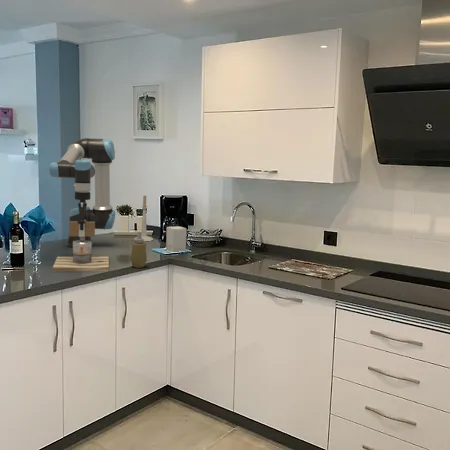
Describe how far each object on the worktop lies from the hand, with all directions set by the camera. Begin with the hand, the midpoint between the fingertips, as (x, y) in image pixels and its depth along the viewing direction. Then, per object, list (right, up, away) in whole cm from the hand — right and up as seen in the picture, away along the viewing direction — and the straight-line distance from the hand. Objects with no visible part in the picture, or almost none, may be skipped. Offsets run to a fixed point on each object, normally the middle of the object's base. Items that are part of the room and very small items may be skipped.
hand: (82, 234), depth 256 cm
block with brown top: (0, -10, +1) cm, 10 cm away
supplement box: (+42, -12, +47) cm, 64 cm away
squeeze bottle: (+27, -17, +6) cm, 32 cm away
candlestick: (+18, -5, +83) cm, 85 cm away
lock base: (-1, -16, +2) cm, 16 cm away
